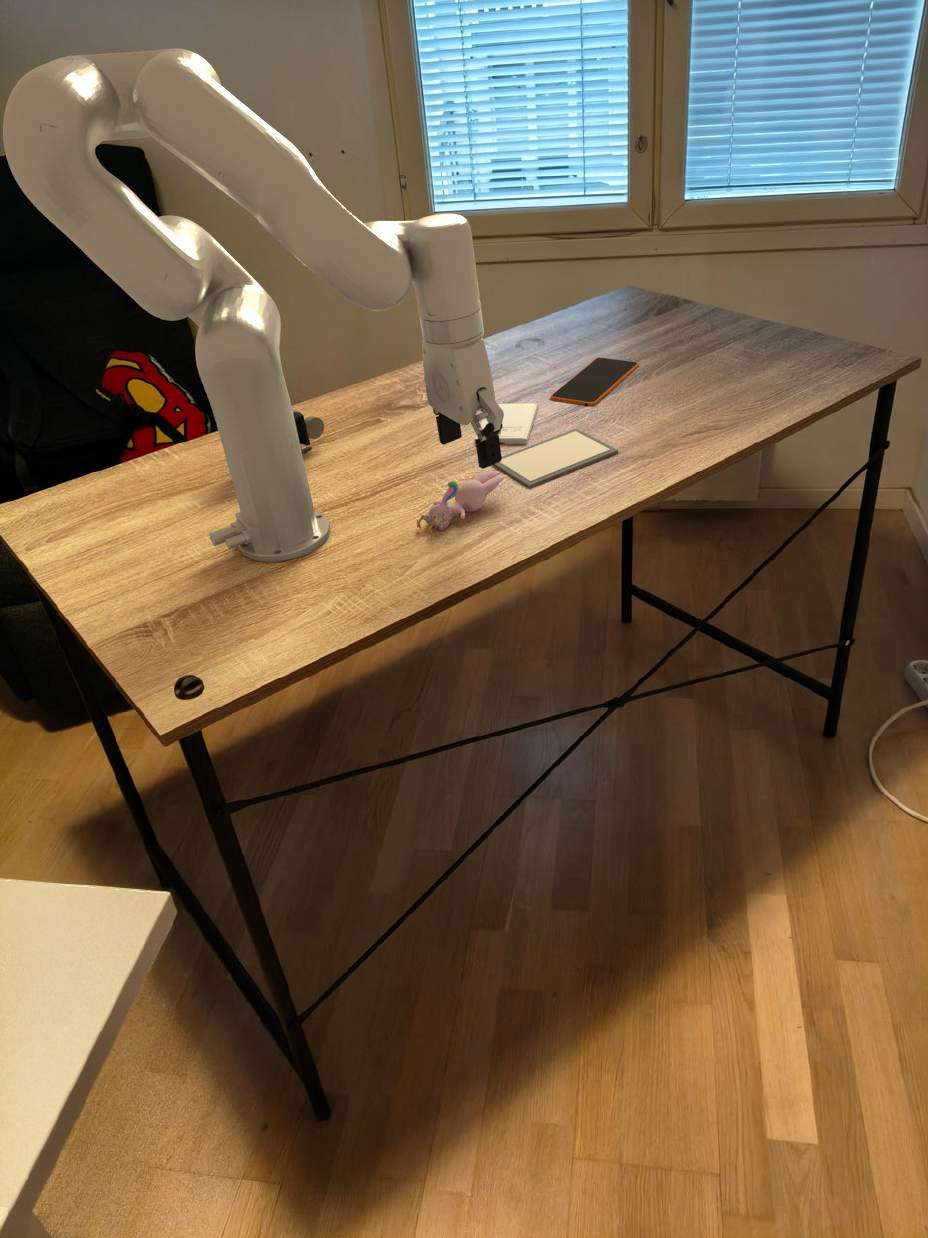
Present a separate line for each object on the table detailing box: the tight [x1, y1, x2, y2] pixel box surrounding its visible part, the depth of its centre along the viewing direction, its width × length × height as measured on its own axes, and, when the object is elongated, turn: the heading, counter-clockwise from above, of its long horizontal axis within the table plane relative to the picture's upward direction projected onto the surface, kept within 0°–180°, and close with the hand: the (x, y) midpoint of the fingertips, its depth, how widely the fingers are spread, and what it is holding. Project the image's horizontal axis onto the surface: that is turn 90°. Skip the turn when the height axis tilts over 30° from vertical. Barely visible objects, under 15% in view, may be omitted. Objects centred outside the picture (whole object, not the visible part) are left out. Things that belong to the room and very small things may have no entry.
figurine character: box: [292, 409, 325, 454], centre depth 148 cm, size 7×8×15 cm
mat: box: [492, 428, 619, 489], centre depth 141 cm, size 16×10×1 cm, turn 122°
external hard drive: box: [473, 402, 539, 445], centre depth 151 cm, size 2×8×12 cm
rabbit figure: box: [416, 470, 509, 537], centre depth 129 cm, size 6×6×15 cm
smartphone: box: [549, 357, 640, 407], centre depth 162 cm, size 8×18×1 cm, turn 148°
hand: (470, 452), depth 125 cm, fingers open, 9 cm apart
